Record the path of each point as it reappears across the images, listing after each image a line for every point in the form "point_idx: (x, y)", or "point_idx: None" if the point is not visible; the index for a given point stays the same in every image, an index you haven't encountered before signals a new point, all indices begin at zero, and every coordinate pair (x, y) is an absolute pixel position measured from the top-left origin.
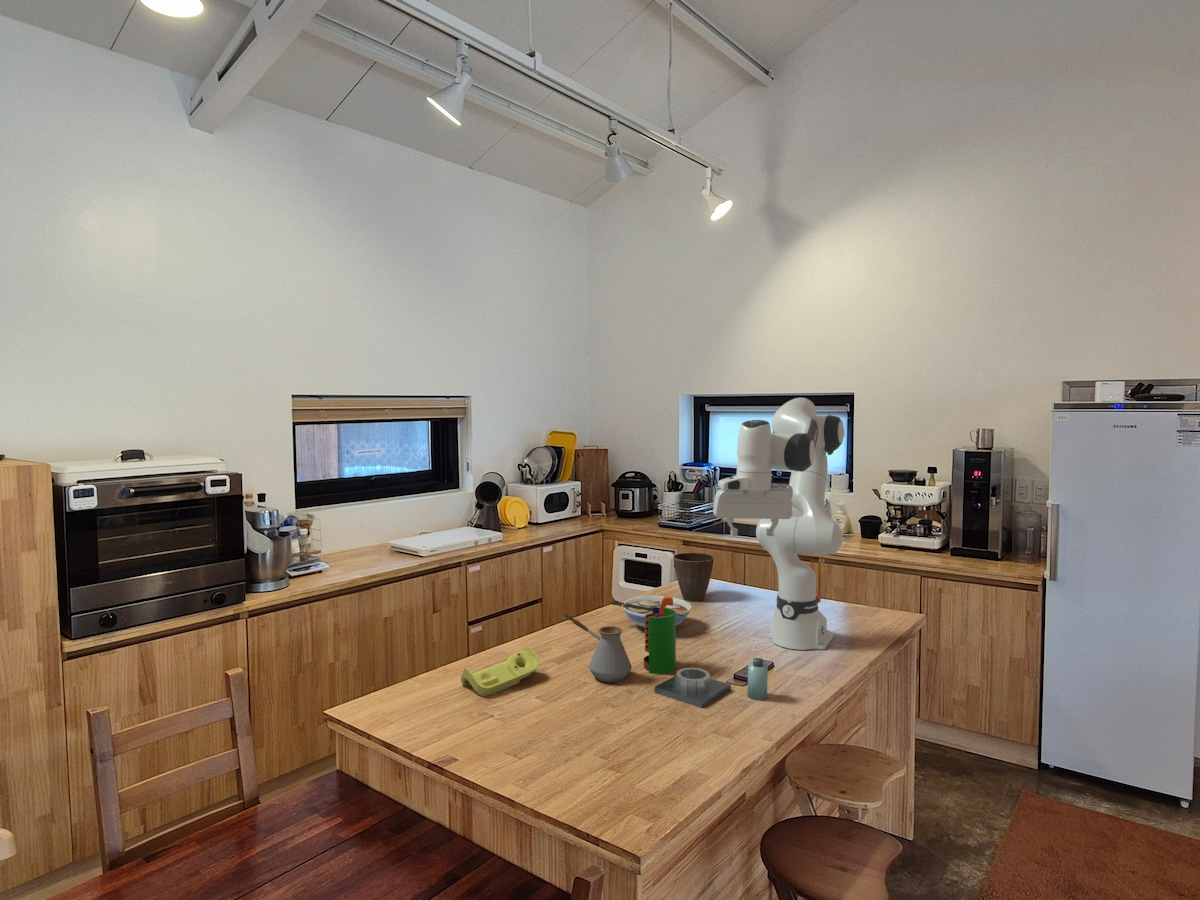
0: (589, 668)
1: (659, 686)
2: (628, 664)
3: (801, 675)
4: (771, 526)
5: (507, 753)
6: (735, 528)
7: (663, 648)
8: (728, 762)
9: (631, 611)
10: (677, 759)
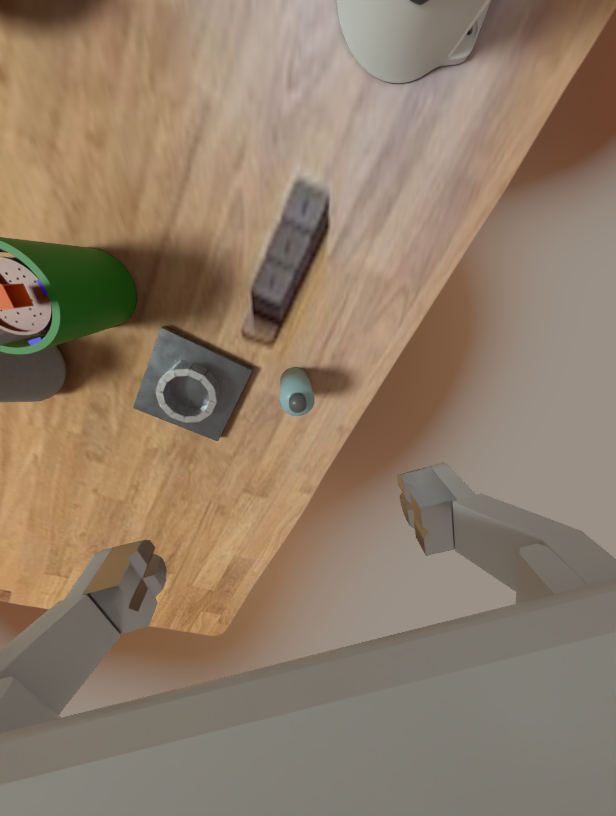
0: None
1: (140, 405)
2: (53, 372)
3: (375, 270)
4: (480, 532)
5: (48, 573)
6: (117, 604)
7: (94, 332)
8: (267, 538)
9: None
10: (218, 545)
